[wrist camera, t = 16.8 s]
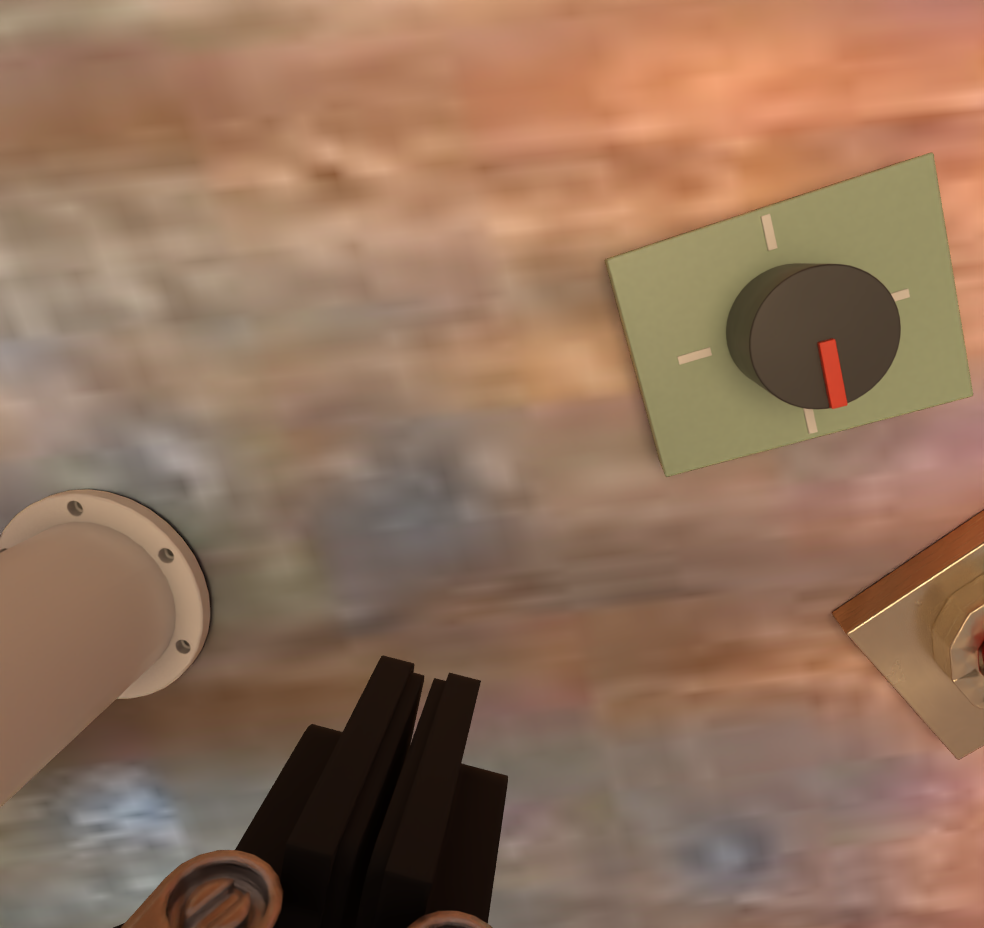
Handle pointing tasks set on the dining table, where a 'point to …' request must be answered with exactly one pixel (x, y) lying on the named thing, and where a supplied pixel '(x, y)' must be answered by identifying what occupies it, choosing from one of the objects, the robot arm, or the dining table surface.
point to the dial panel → (755, 249)
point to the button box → (931, 634)
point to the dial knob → (814, 333)
